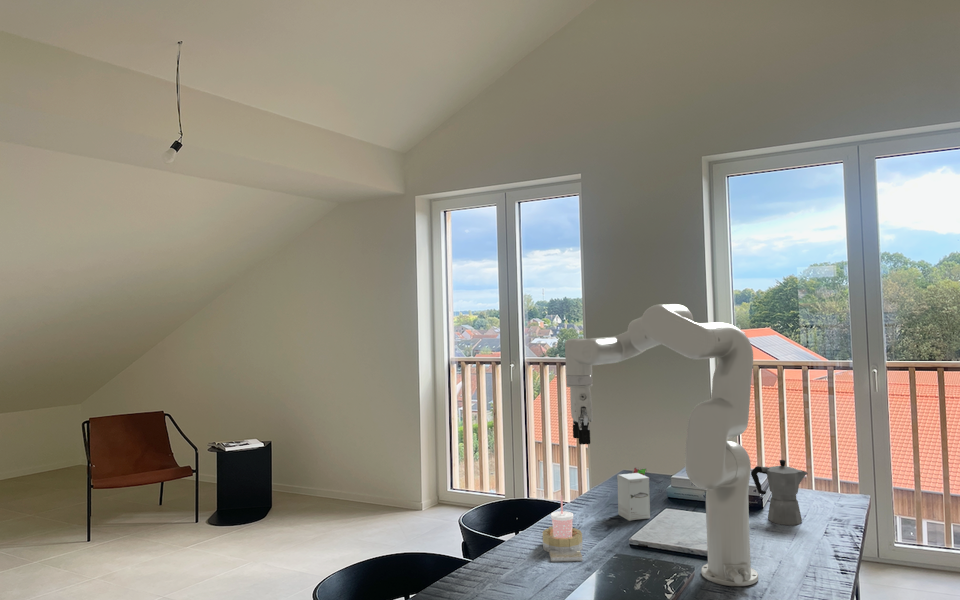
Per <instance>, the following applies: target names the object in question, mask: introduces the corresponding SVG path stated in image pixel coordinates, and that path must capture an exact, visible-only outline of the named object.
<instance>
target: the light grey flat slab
mask: <svg viewBox="0 0 960 600" xmlns="http://www.w3.org/2000/svg"><path fill="white" fill-rule="evenodd" d="M552 537H554V536H552ZM542 548H543V551H545V552H548V553H549V557H550V558H549V559H550V562H554V563H555V562H558V563H559V562H583V559H584V558H583V555H582V553H581V551H582V550H583V548H584V547H583V541H582V542H581V543H580V544H579V545H575V546H571V547H556V546H550V545H548V544H546V543H544V542H543V541H542Z"/></svg>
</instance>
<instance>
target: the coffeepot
mask: <svg viewBox="0 0 960 600" xmlns="http://www.w3.org/2000/svg"><path fill="white" fill-rule="evenodd" d="M758 473H759V474H763V475H766V477H767V482H768V487H769V492H771V497H770V501H769V505H768V515H767V519H768V521H769V522H771V523H773V524H776V525H781V526H782V525H783V526H797V525H800V524H801V523H802V522H803V517H802V514H801V510H800V505H799V501H798V499H797V494H798V493H799V486H800V484H801V482H802V481H803V479H804V478H805V477H806V475H808V472H807V471H806V470H805V471H804V470H801V469H798V468H795V467H792V466H787V465H786V460H785V459H779V465H777V466H776V465H775V466H769V467H768V466H760V465H759V466H755V467H754V468H753V469H751V472H750V476H751V477H752V480H753V482H754V485H755V487H756V490H757V493H758V494H760V495H766V494H767V491H766V490H763V489H762V484H761V482H760V480H759V479H760V478H759V475H758Z"/></svg>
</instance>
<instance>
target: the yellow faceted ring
mask: <svg viewBox="0 0 960 600" xmlns="http://www.w3.org/2000/svg"><path fill="white" fill-rule="evenodd" d="M552 536H554V535H553V525H551V526H549V527H548V528H545V529H544V530H542V543H543V542H544V543H546V544H548V545H550V546H556V547H571V546H575V545H579V544H580V543H581V542H582V543H583V533H582V531H581V530H580V529H578V528H576V527H572V537H568V538H558V537H552Z"/></svg>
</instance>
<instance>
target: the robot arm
mask: <svg viewBox="0 0 960 600" xmlns="http://www.w3.org/2000/svg"><path fill="white" fill-rule="evenodd" d="M660 345H663V347H664V346H665V347H666V348H668V349H670V350H672V351H674V352H675V353H677V354H680V355H681V356H683V357H685V358H688V359H691V360H696V361H697V360H707V359H714V358H715V359H717V365H716V367H715V370H714V373H713V376H712V386H711V394H710V399H706V400H704V401H701V402H699V403H697V404H696V405H695V406H694V407H693V409H691V412H690V413H689V416H688V419H687V420H688V421H687V425H686V426H687V427H686V428H687V429H686V440H685V453H684V454H685V455H684V467H685V472H686V475H687V477H688V479H689V481H690V482H691V483H692V485H694V486H695V487H697V488H699V489H701V490H706V491H705V518H706V519H705V521H706V542H707V543H706V544H707V545H706V546H707V547H706V548H707V550H706V551H707V563H706V564H704V565H702V566H701V571H700V573H701V576H702V577H703V578H704V579H706V580H707V581H708V582H709V581H710V582H711V583H714V584H718V585H722V586H729V587H746V586H748V587H749V586H752V585H754V584H756V583H757V582H758V581H759V573H758V572H757V570H755V569H754V568H752V567H751V561H752V560H751V541H750V540H751V538H750V536H751V535H750V517H749V516H750V515H749V512H750V510H749V507H750V506H749V505H750V504H749V488H750V480H751V479H750V478H751V471H752V468H751V465H752V463H751V459H750V456H749V453H748V452H747V449H745V448H744V447H743V445H741V444H739V443H737V442H736V441H731V440H728V439H732V438H736V437H739V436H740V435H742V434H743V433H745V431H746V430H747V429H748V425H749V417H750V416H749V415H750V401H751V391H752V390H751V389H752V388H751V387H752V386H751V385H752V377H753V375H752V374H753V368H754V366H753V365H754V350H753V346H752V343H751V341H750V340H749V338H748V337H747V335H746V334H745V333H744V332H743V331H742V330H741V329H740V328H739V327H736V326H735V325H733V324H730V323H727V322H720V321H715V322H714V321H712V322H695V321H694V316H693V313H692V312H691V311H690V310H689V309H688V307H686V306H685V305H682V304H678V303H668V304H667V303H665V304H663V303H659V304H654V305H652V306H650V307H648V308H647V309H645V310H644V312H643V314H642V316H640V317H638V318H636V319H633V320H631V321H630V322H629V324H628V326H627V330H626V331H624V332H622V333H619V334H617V335H612V336H608V337H607V336H604V337H600V336H599V337H590V338H580V337H579V338H569V339H567V340H565V343H564V352H565V353H564V354H565V355H564V356H565V380H566V382H565V384H566V385H565V386H566V388H569V389H570V390H569V392H570V394H569V395H570V400H569V401H570V413H571V414H570V415H571V418H572V437H573V439H578V444H579V445H590V444H591V429H590V423H591V422H593V421H594V417H593V416H594V414H593V413H594V411H593V402H592V400H593V399H592V393H591V391H592V390H591V388H592V387H593V385H594V384H593V382H594V381H593V366H598V365H599V366H600V365H607V364H617V363H620V362H623V361H625V360H628V359H632V358H634V357H636V356H639V355H641V354H642V353H644V352H645V351H647V350H649V349H652V348H655V347H657V346H660Z"/></svg>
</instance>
